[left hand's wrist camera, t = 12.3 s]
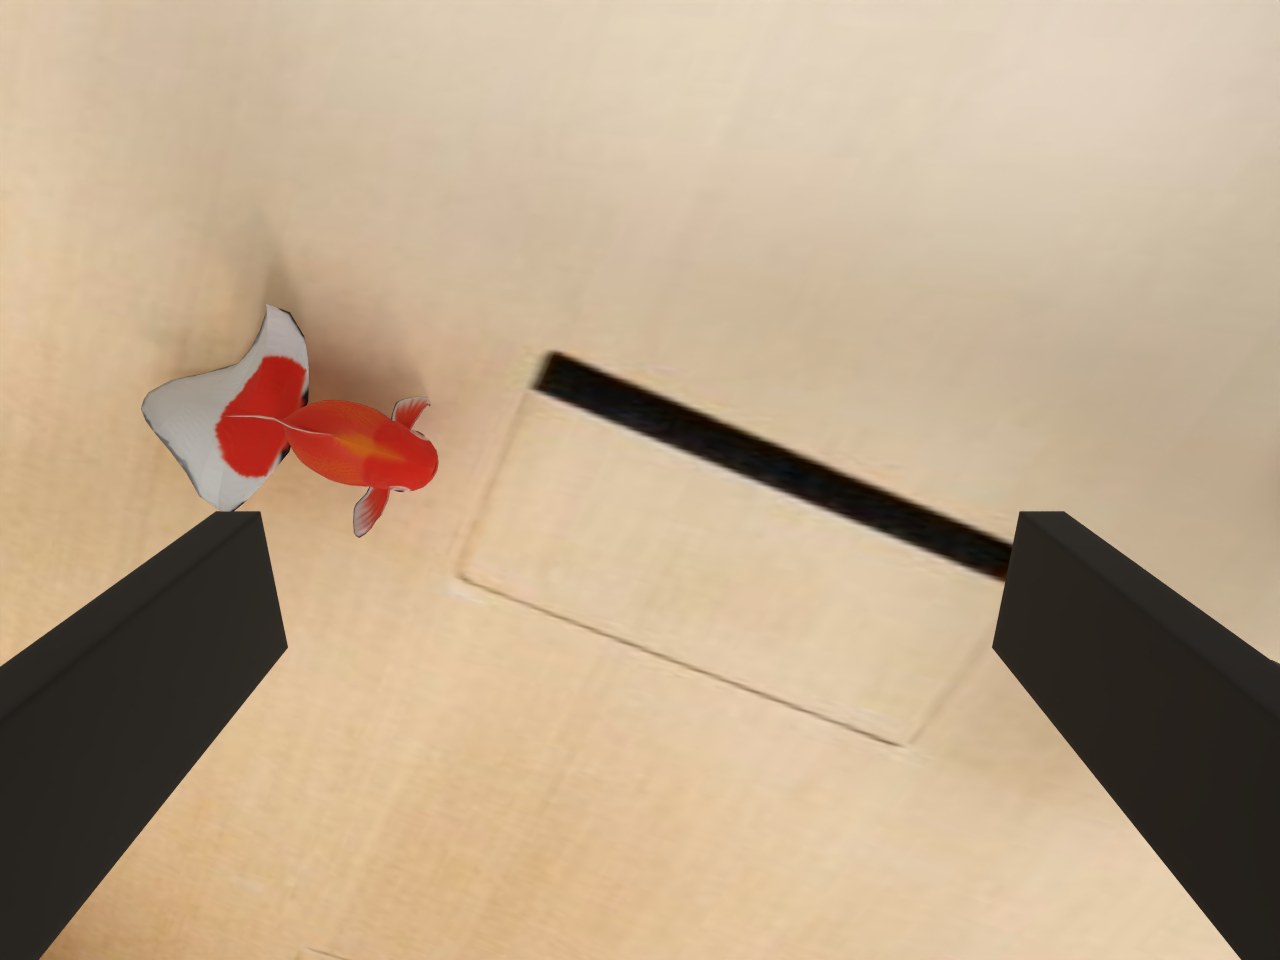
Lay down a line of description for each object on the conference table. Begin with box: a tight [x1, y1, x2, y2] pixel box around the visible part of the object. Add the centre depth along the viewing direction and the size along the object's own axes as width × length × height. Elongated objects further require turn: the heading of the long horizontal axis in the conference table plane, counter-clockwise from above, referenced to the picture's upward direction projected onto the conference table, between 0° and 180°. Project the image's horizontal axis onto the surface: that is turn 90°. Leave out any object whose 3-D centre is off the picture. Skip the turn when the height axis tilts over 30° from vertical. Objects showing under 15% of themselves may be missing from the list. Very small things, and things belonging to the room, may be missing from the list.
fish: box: [141, 304, 438, 538], centre depth 37 cm, size 11×16×10 cm
